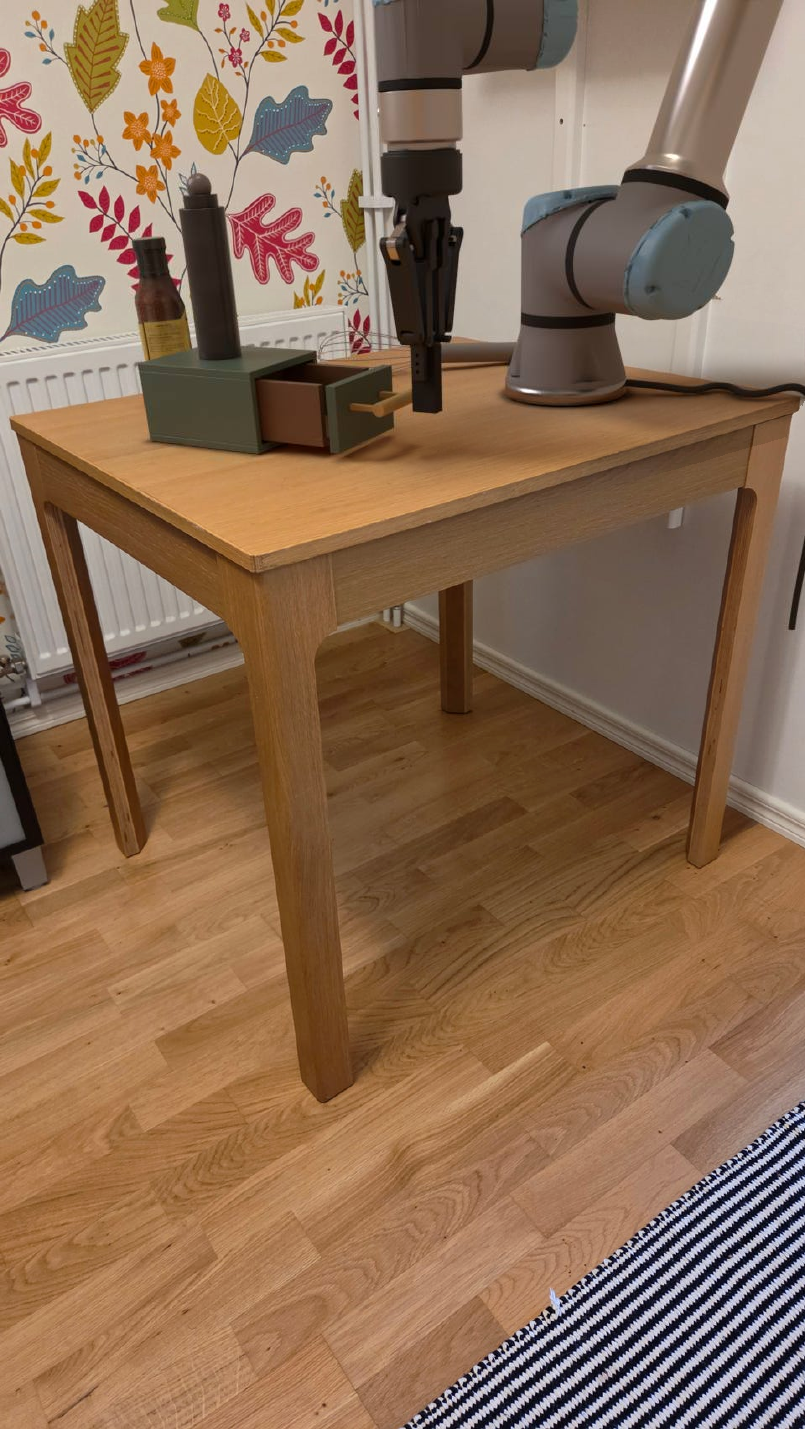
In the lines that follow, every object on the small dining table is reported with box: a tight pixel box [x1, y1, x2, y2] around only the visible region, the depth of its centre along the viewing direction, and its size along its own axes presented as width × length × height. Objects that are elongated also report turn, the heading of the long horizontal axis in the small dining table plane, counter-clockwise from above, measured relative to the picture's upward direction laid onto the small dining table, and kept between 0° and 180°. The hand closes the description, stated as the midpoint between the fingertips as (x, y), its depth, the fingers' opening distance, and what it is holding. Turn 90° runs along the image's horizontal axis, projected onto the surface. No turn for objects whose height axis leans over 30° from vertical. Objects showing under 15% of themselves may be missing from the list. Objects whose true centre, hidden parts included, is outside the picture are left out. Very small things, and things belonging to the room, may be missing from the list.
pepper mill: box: [178, 172, 242, 360], centre depth 107 cm, size 5×5×18 cm
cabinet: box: [137, 345, 318, 455], centre depth 113 cm, size 16×13×9 cm
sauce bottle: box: [131, 235, 193, 362], centre depth 126 cm, size 7×6×20 cm
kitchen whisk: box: [317, 330, 517, 374], centre depth 141 cm, size 6×34×6 cm, turn 105°
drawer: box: [255, 362, 412, 455], centre depth 108 cm, size 19×11×7 cm, turn 60°
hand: (427, 411), depth 102 cm, fingers closed
